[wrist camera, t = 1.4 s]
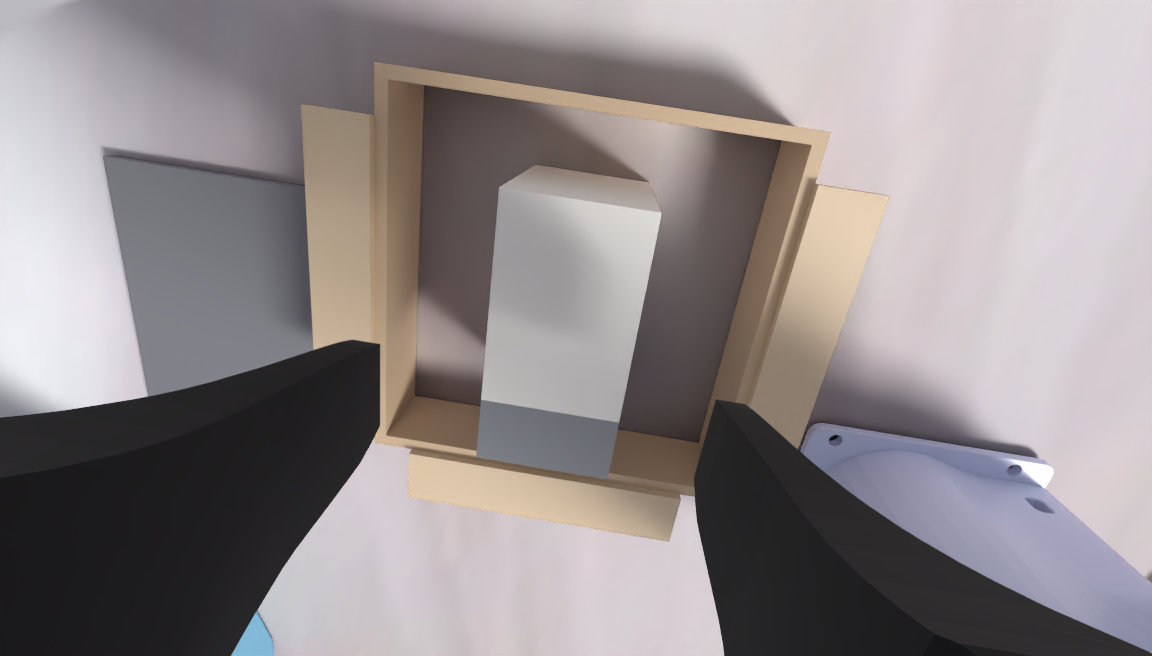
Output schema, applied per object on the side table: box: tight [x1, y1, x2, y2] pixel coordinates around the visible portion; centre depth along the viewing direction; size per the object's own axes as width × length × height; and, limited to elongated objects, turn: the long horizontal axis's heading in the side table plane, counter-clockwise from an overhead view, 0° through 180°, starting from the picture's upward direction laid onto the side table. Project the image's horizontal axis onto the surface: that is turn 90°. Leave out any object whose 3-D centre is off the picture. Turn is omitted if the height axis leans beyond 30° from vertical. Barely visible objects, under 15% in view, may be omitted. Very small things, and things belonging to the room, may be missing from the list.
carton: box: [301, 62, 890, 542], centre depth 19 cm, size 17×15×3 cm
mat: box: [103, 155, 313, 396], centre depth 21 cm, size 9×11×1 cm
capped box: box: [476, 165, 662, 479], centre depth 17 cm, size 4×8×6 cm, turn 172°
